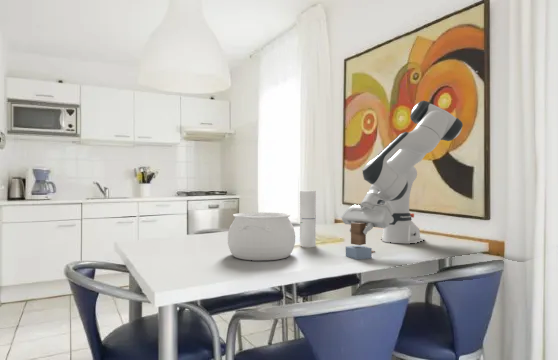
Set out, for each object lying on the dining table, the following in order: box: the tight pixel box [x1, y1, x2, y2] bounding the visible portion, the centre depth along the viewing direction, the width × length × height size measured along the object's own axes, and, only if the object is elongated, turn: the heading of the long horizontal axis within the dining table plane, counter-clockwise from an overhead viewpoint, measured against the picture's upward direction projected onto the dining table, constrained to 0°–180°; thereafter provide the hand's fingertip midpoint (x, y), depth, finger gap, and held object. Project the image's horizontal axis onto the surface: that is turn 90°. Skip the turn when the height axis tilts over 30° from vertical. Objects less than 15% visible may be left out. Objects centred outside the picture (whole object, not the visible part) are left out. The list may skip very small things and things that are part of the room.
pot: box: [227, 212, 296, 262], centre depth 147 cm, size 29×26×16 cm
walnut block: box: [350, 222, 367, 246], centre depth 145 cm, size 4×4×8 cm
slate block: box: [345, 245, 373, 260], centre depth 144 cm, size 7×7×4 cm
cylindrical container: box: [299, 190, 317, 248], centre depth 170 cm, size 7×7×25 cm
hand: (357, 232), depth 144 cm, fingers closed on walnut block, 4 cm apart
